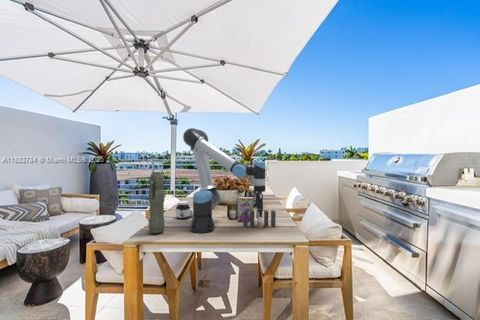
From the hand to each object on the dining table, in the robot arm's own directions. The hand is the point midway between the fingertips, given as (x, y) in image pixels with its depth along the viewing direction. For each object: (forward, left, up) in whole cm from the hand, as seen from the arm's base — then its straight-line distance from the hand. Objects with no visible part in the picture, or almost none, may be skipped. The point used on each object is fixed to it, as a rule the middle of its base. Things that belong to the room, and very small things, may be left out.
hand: (259, 220), depth 160 cm
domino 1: (-9, 0, -4) cm, 10 cm away
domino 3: (0, 0, -4) cm, 4 cm away
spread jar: (-51, +25, -4) cm, 58 cm away
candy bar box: (-8, +14, -4) cm, 17 cm away
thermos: (-63, -9, -4) cm, 64 cm away
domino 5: (+9, 0, -4) cm, 10 cm away
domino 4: (+5, 0, -4) cm, 6 cm away
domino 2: (-4, 0, -4) cm, 6 cm away
